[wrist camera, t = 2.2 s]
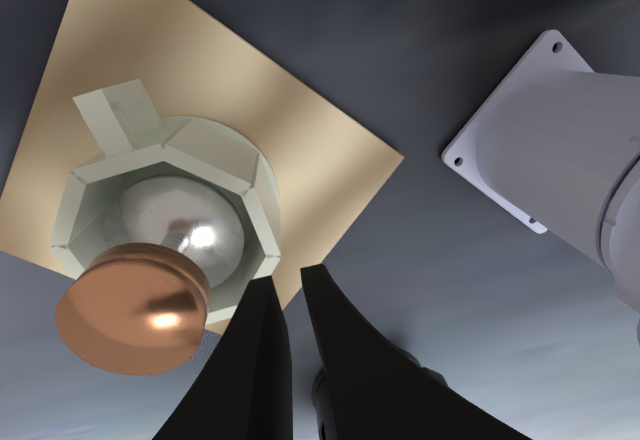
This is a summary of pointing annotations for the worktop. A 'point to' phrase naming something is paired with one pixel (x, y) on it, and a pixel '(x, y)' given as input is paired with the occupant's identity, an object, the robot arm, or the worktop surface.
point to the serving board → (192, 100)
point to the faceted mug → (167, 158)
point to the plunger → (152, 276)
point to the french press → (325, 406)
